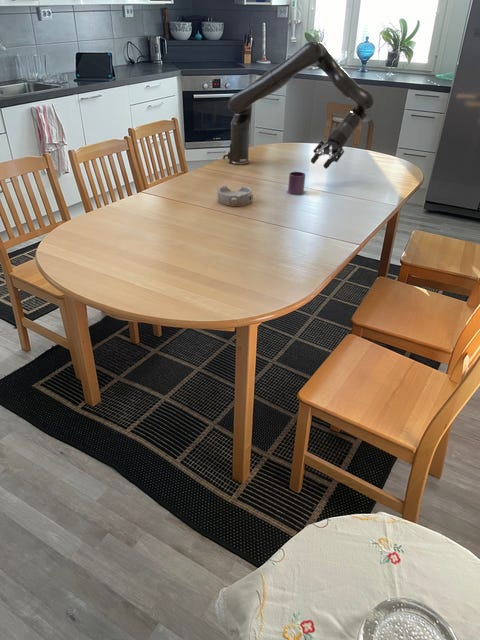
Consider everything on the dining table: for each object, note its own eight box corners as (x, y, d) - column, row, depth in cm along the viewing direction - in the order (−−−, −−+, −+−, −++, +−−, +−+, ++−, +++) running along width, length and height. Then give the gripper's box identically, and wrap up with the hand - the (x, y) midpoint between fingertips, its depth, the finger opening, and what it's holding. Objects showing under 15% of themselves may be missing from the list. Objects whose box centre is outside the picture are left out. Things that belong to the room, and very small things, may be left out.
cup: (287, 194, 214) (288, 175, 209) (288, 189, 219) (290, 171, 215) (303, 195, 213) (304, 176, 209) (304, 190, 219) (305, 172, 214)
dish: (213, 198, 208) (213, 186, 205) (244, 194, 212) (244, 183, 209) (224, 209, 196) (225, 197, 194) (257, 205, 201) (257, 193, 198)
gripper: (326, 126, 217) (303, 155, 218) (348, 132, 207) (325, 163, 208) (334, 137, 223) (311, 166, 224) (356, 144, 213) (332, 174, 214)
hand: (318, 164), depth 216 cm, fingers open, 8 cm apart
